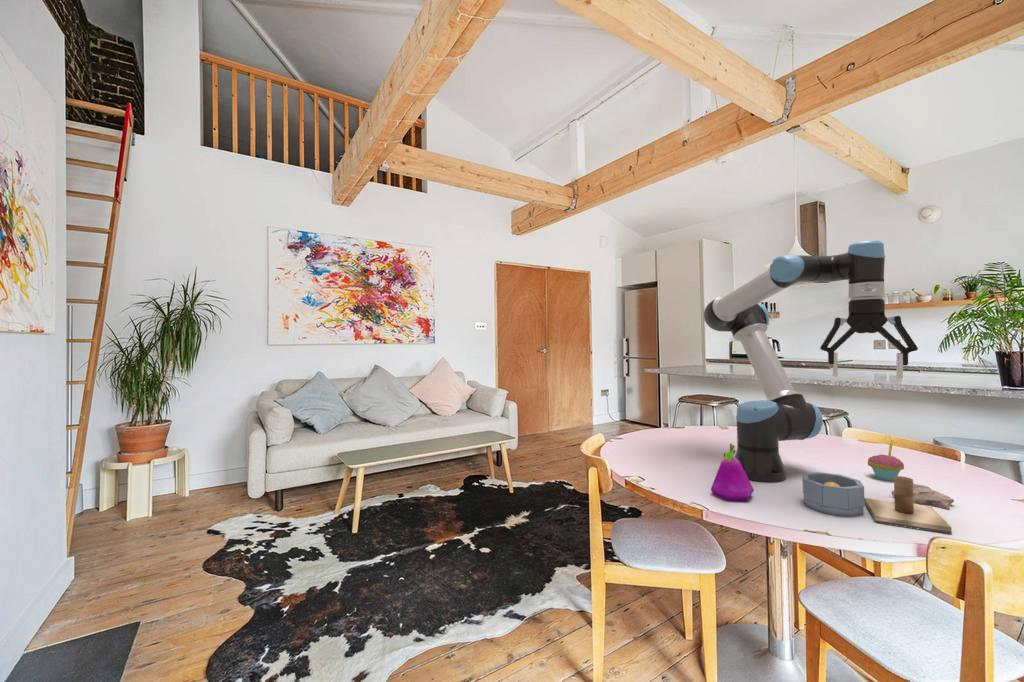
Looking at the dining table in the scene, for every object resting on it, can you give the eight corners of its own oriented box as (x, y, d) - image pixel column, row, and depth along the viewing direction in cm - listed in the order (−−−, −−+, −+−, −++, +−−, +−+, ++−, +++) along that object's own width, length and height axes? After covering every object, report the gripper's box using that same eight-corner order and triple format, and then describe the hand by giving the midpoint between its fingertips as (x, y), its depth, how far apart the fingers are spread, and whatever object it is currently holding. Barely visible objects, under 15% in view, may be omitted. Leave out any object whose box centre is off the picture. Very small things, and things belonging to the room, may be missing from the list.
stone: (955, 500, 114) (955, 490, 114) (952, 513, 106) (952, 502, 106) (897, 489, 123) (897, 479, 123) (890, 500, 115) (890, 490, 115)
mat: (875, 522, 101) (875, 520, 101) (864, 503, 112) (864, 501, 112) (951, 534, 94) (951, 531, 94) (931, 513, 105) (931, 510, 105)
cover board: (875, 520, 101) (874, 482, 101) (864, 501, 112) (863, 467, 112) (951, 531, 94) (950, 491, 94) (931, 510, 105) (930, 474, 105)
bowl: (805, 510, 108) (804, 483, 108) (801, 495, 119) (801, 470, 119) (867, 520, 102) (867, 491, 102) (858, 502, 113) (857, 476, 113)
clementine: (822, 500, 110) (822, 483, 110) (820, 494, 114) (820, 478, 114) (844, 503, 108) (843, 486, 108) (841, 497, 111) (841, 481, 111)
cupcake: (890, 474, 135) (889, 436, 135) (912, 483, 126) (911, 442, 126) (861, 473, 136) (860, 436, 136) (881, 482, 127) (880, 443, 127)
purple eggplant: (703, 490, 125) (702, 439, 125) (738, 488, 126) (737, 437, 126) (725, 504, 114) (724, 448, 114) (764, 502, 115) (762, 447, 115)
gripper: (811, 300, 119) (811, 376, 119) (933, 295, 105) (933, 380, 106) (809, 302, 125) (809, 374, 125) (924, 297, 112) (924, 377, 112)
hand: (866, 377), depth 116 cm, fingers open, 13 cm apart
